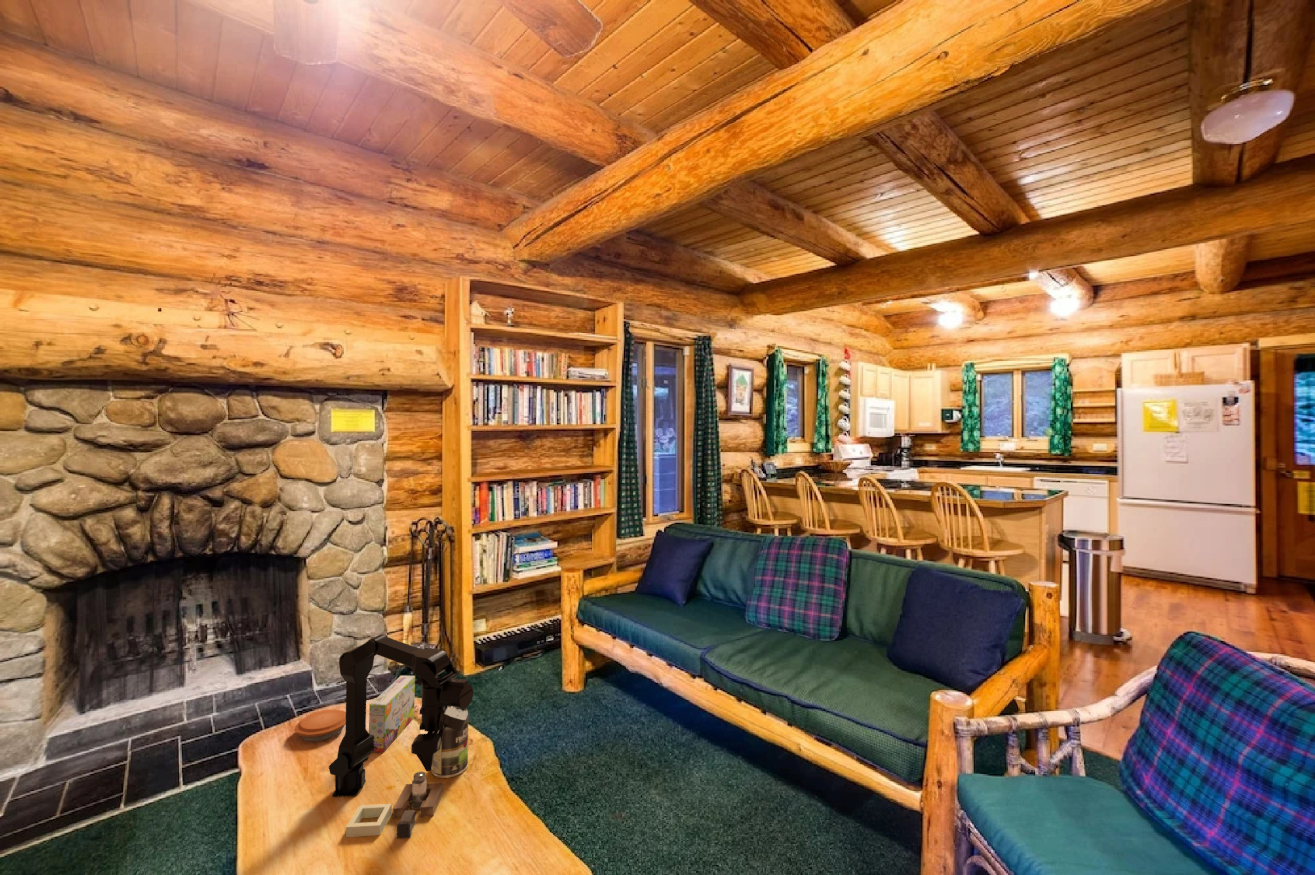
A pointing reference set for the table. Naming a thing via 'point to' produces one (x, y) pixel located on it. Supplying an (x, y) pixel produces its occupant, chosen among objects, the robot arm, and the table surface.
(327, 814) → the table surface
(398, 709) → the snack box
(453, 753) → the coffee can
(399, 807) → the socket block
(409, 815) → the dark grey block
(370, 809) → the beige square frame
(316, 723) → the pie
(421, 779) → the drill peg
